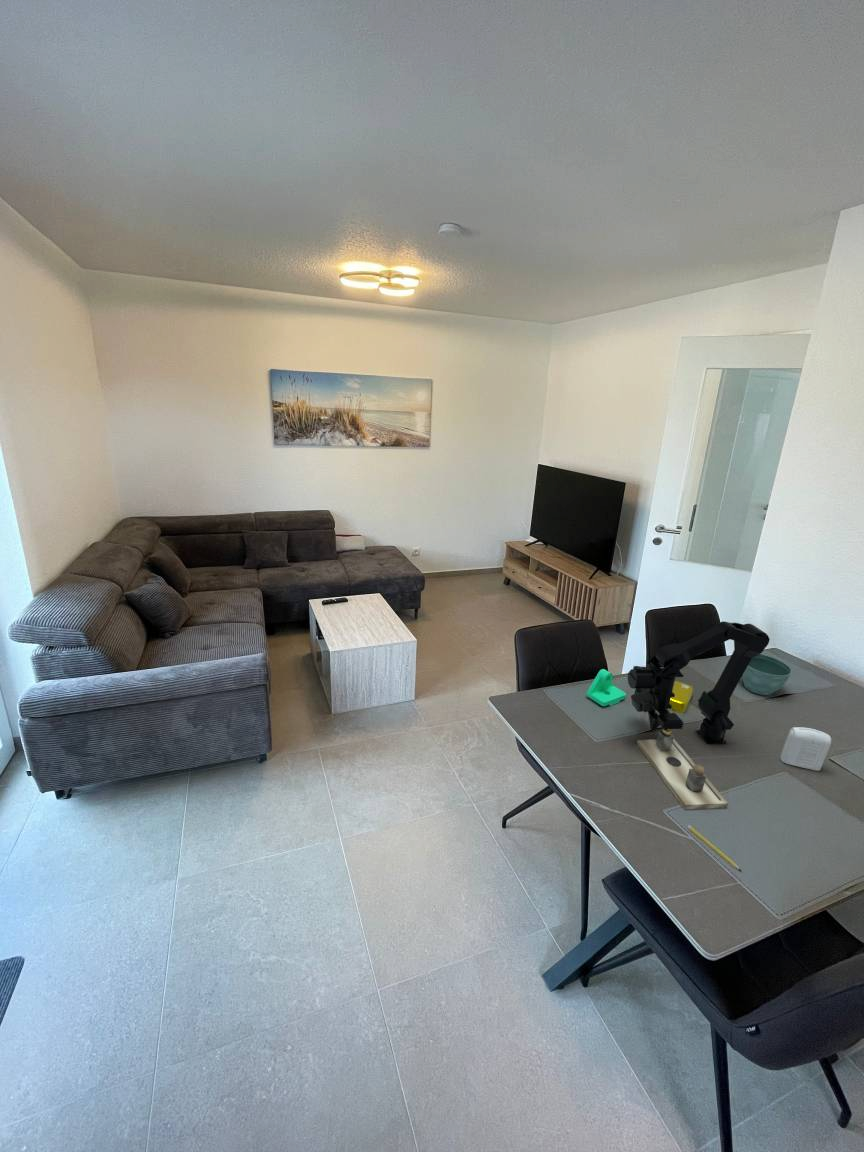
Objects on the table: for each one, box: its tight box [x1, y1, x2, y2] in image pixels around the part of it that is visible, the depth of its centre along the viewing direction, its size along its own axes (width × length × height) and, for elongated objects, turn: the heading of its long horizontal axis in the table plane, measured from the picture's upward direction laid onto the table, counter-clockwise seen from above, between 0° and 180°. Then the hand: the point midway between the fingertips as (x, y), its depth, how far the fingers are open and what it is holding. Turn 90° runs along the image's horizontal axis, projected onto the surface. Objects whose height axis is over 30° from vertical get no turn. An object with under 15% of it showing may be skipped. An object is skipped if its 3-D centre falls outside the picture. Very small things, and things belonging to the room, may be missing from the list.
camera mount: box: [586, 668, 627, 707], centre depth 176 cm, size 12×8×10 cm, turn 121°
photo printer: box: [779, 726, 832, 772], centre depth 148 cm, size 10×4×12 cm, turn 73°
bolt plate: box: [636, 738, 729, 811], centre depth 142 cm, size 12×26×8 cm, turn 6°
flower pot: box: [741, 653, 793, 696], centre depth 187 cm, size 16×16×11 cm
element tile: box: [669, 680, 694, 714], centre depth 180 cm, size 15×15×5 cm
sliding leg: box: [656, 728, 675, 751], centre depth 150 cm, size 3×3×7 cm
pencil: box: [686, 824, 742, 872], centre depth 120 cm, size 1×14×1 cm, turn 27°
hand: (652, 729), depth 157 cm, fingers closed
